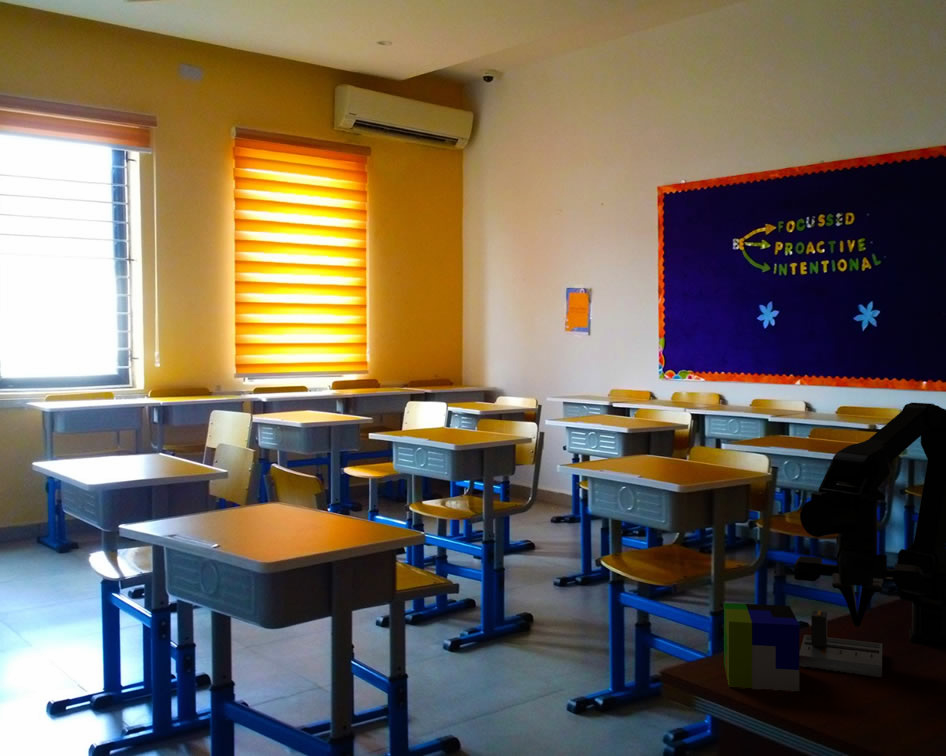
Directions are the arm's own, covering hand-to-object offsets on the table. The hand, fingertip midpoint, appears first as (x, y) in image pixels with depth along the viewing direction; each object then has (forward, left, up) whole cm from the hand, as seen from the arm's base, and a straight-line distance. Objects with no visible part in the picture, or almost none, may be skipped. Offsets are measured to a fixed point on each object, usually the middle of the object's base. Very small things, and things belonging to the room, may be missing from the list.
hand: (857, 625), depth 145 cm
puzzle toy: (+13, -13, -6) cm, 20 cm away
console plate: (+1, -2, -6) cm, 6 cm away
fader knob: (0, -6, -4) cm, 7 cm away
